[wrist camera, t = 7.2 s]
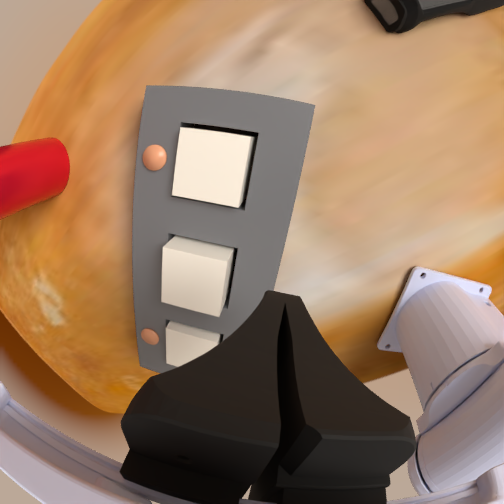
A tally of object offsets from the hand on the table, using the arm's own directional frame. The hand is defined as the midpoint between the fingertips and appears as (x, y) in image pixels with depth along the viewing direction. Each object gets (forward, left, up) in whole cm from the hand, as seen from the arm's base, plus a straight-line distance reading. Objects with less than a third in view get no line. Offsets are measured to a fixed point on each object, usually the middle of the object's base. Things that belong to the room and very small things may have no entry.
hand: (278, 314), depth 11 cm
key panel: (+5, +3, -9) cm, 11 cm away
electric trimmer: (-9, -22, -10) cm, 26 cm away
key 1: (+5, -4, -10) cm, 12 cm away
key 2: (+5, +10, -10) cm, 15 cm away
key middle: (+5, +3, -9) cm, 11 cm away
